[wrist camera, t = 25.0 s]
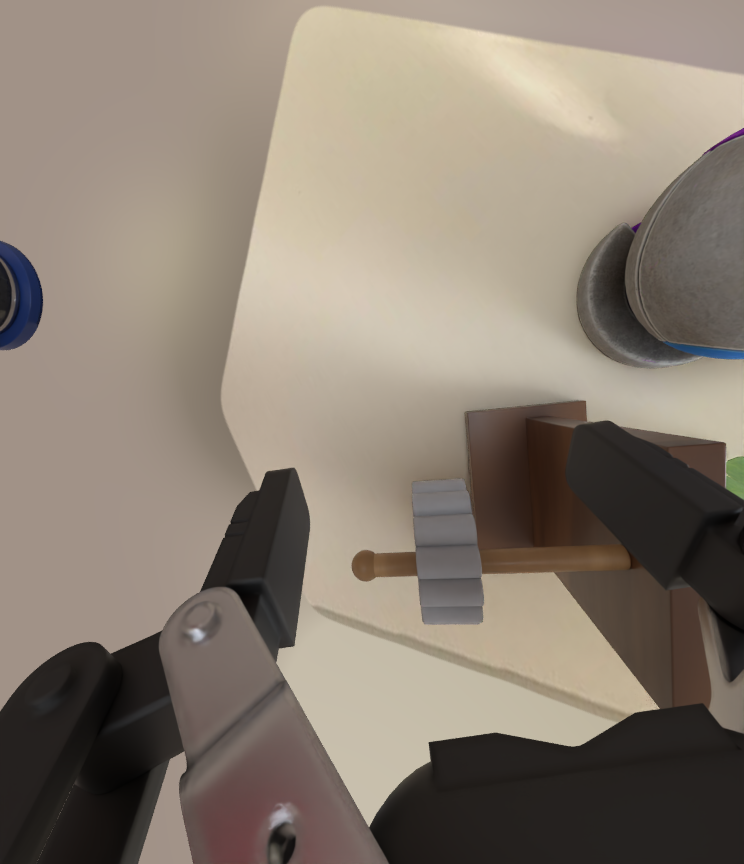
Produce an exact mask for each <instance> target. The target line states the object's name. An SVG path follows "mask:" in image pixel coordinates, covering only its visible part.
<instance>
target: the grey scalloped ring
mask: <svg viewBox="0 0 744 864" xmlns="http://www.w3.org/2000/svg"><path fill="white" fill-rule="evenodd" d="M412 493H413V495H412V503H413V515H414V519H413V521H414V537H415V546H416V564H417V575H418V582H419V596H420V605H421V611H422V620H423V622H424V624H480V623H482V622H483V608H482V606H483V605H484V594H483V586H482V581H481V576H482V566H481V558H480V553H479V548H478V545H477V530H476V524H475V519H474V516H473V514H472V507H471V500H470V495H469V492H468V491H467V489H466V484H465V480H464V479H460V478H459V479H444V480H429V481H414V482H412Z"/></svg>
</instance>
